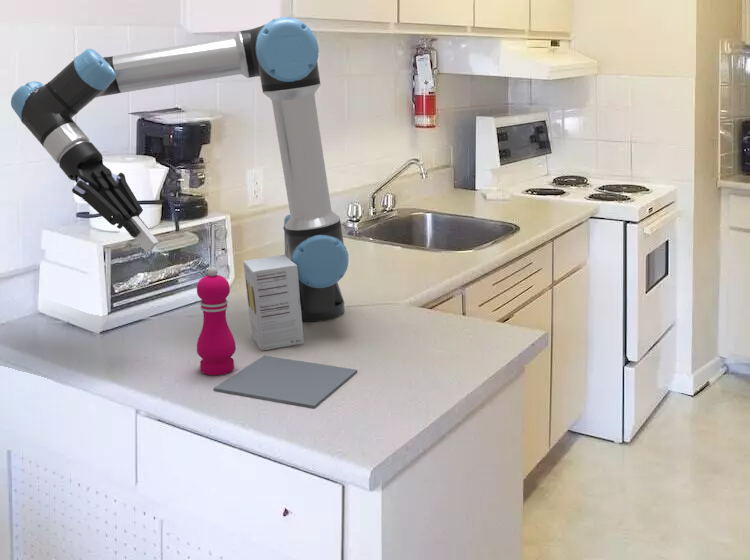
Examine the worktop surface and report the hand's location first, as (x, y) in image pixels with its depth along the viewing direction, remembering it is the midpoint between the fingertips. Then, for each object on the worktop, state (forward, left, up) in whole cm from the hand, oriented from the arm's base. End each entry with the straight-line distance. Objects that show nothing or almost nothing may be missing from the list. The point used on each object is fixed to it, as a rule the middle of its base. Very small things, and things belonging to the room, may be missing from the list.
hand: (152, 247), depth 159 cm
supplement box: (-24, -2, -23) cm, 33 cm away
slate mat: (-20, +20, -23) cm, 36 cm away
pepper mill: (-9, +9, -23) cm, 26 cm away
